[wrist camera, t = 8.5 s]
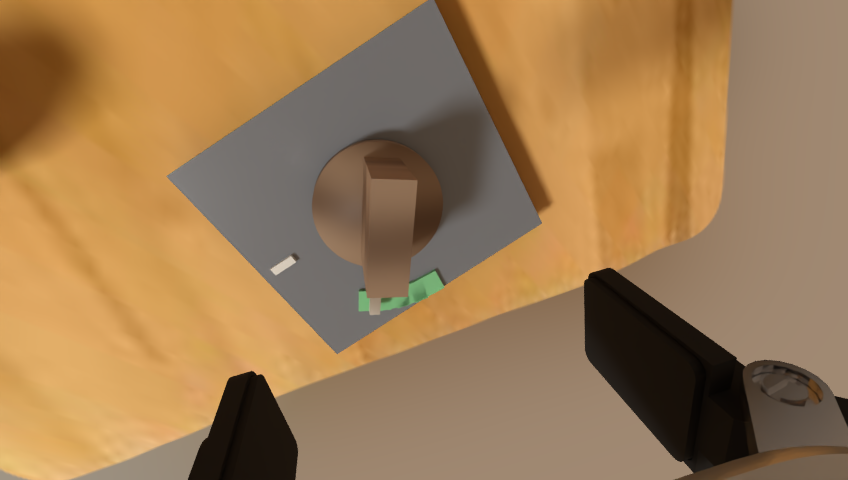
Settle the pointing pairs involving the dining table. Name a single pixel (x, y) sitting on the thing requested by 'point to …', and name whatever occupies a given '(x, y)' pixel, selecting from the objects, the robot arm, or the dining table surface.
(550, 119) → the dining table surface
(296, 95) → the tuner plate
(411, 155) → the tuning knob
